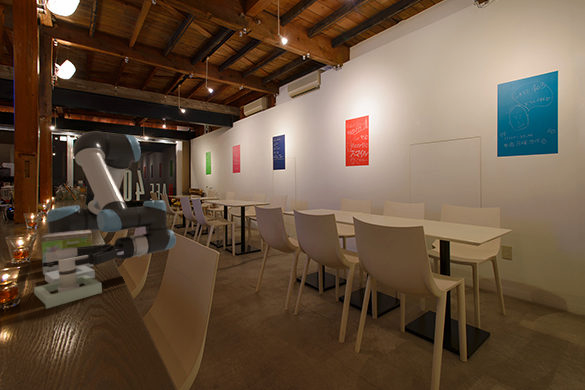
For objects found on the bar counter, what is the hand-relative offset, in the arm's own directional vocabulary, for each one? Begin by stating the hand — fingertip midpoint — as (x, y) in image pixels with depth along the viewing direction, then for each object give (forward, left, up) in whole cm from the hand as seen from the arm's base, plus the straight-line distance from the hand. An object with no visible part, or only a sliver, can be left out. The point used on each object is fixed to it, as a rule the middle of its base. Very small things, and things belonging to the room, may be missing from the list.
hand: (52, 261), depth 80 cm
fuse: (0, +3, -10) cm, 11 cm away
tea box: (-31, +11, -11) cm, 35 cm away
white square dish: (-14, +7, -11) cm, 19 cm away
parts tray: (0, +3, -11) cm, 11 cm away
